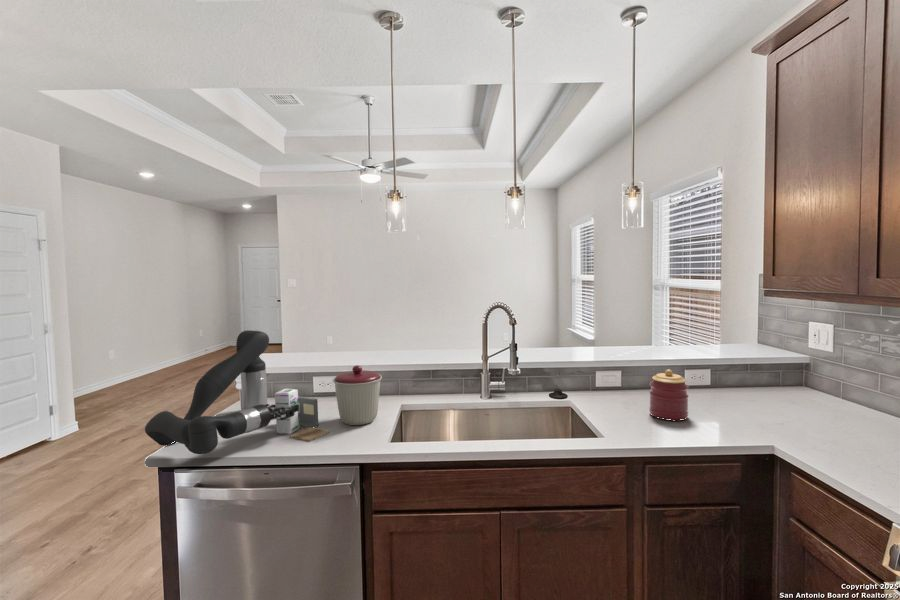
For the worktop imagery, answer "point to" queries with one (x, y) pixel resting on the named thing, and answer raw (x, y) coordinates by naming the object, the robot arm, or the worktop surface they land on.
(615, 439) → the worktop surface
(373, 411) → the canister
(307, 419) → the label board
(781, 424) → the worktop surface
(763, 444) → the worktop surface
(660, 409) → the canister
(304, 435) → the coaster
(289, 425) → the syrup box
